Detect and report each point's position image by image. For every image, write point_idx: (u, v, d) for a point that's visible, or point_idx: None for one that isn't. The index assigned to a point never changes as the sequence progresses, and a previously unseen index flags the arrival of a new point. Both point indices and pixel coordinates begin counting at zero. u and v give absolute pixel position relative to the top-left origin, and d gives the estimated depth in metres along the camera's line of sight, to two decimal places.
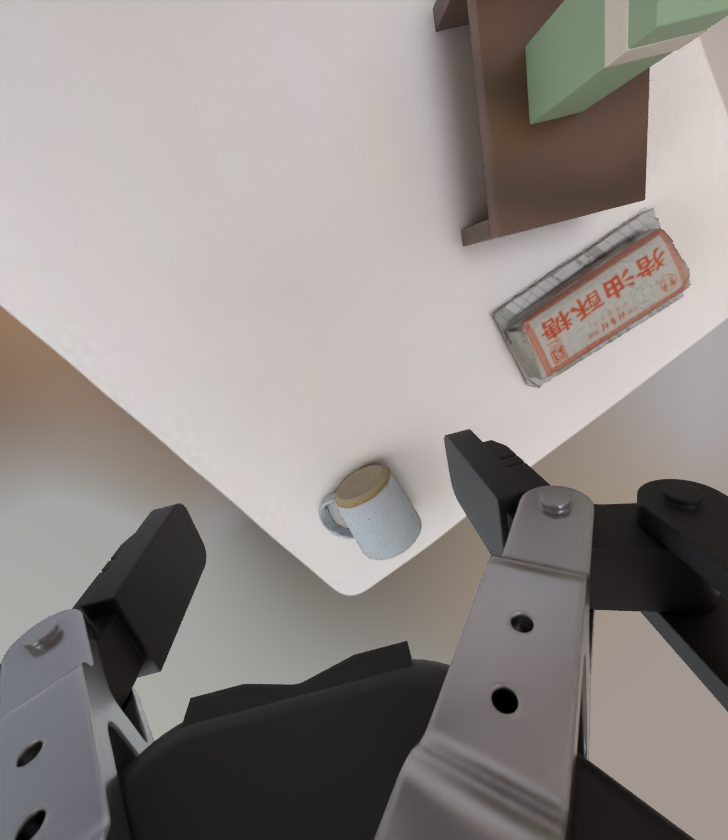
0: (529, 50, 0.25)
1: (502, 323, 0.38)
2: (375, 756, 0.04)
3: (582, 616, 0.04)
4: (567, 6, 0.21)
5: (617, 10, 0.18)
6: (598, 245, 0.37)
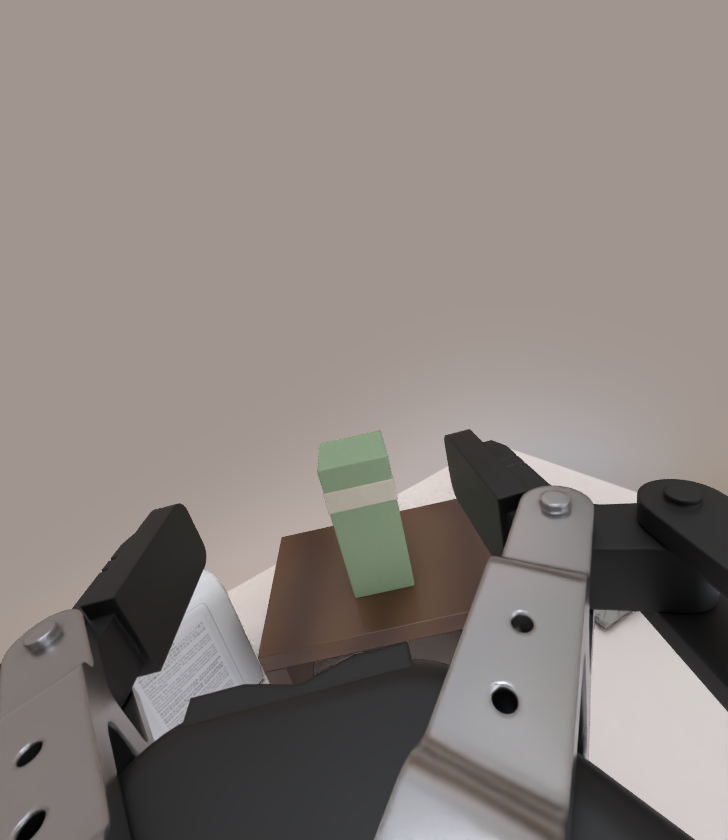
0: (360, 591, 0.27)
1: (613, 612, 0.29)
2: (375, 756, 0.04)
3: (582, 616, 0.04)
4: (346, 547, 0.25)
5: (366, 494, 0.24)
6: None
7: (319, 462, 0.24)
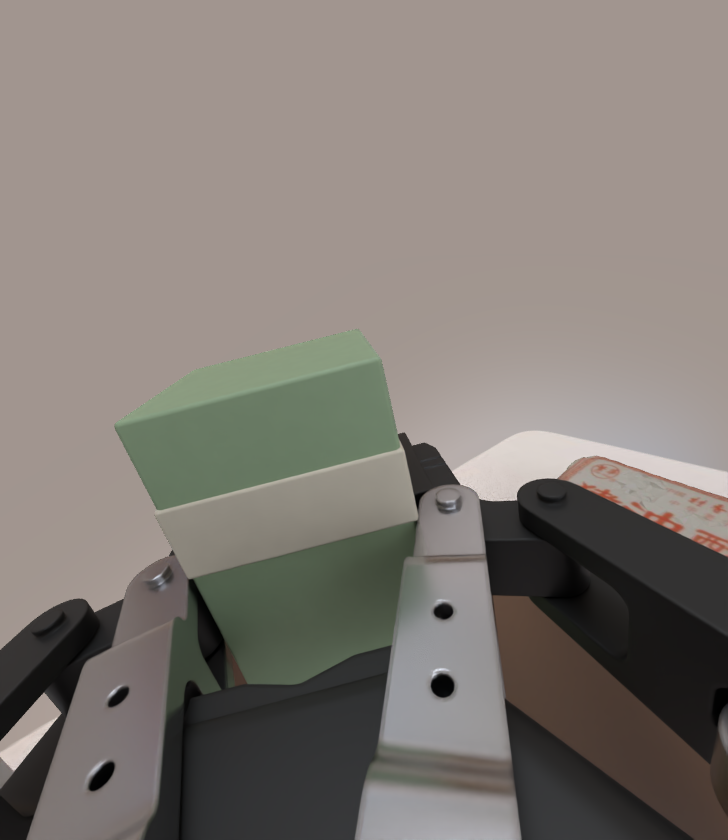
0: None
1: None
2: None
3: (489, 590, 0.05)
4: (263, 675, 0.08)
5: (312, 505, 0.07)
6: None
7: (145, 403, 0.07)
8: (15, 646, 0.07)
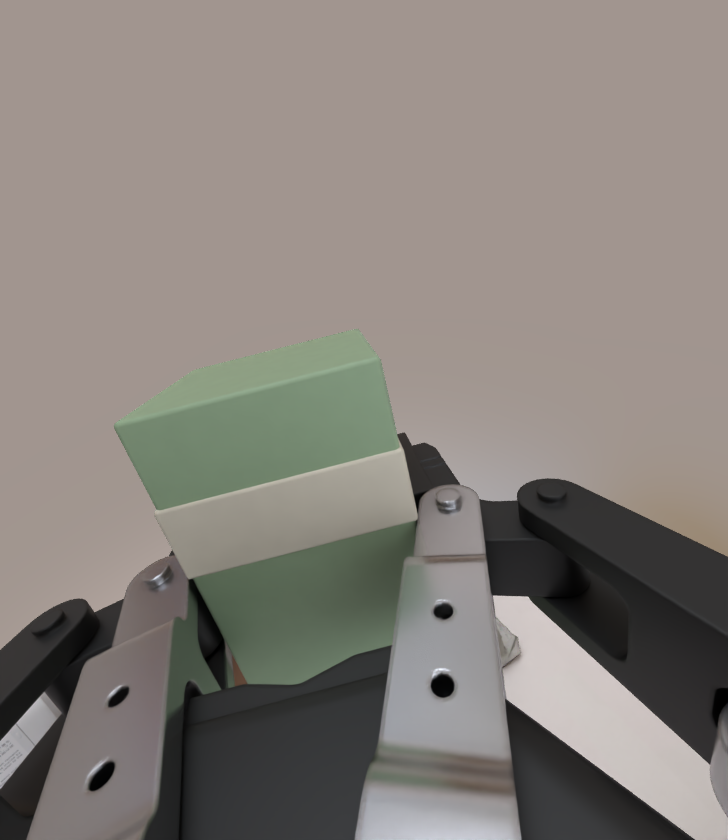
0: None
1: None
2: None
3: (489, 590, 0.05)
4: (263, 674, 0.08)
5: (312, 506, 0.07)
6: None
7: (145, 403, 0.07)
8: (15, 646, 0.07)
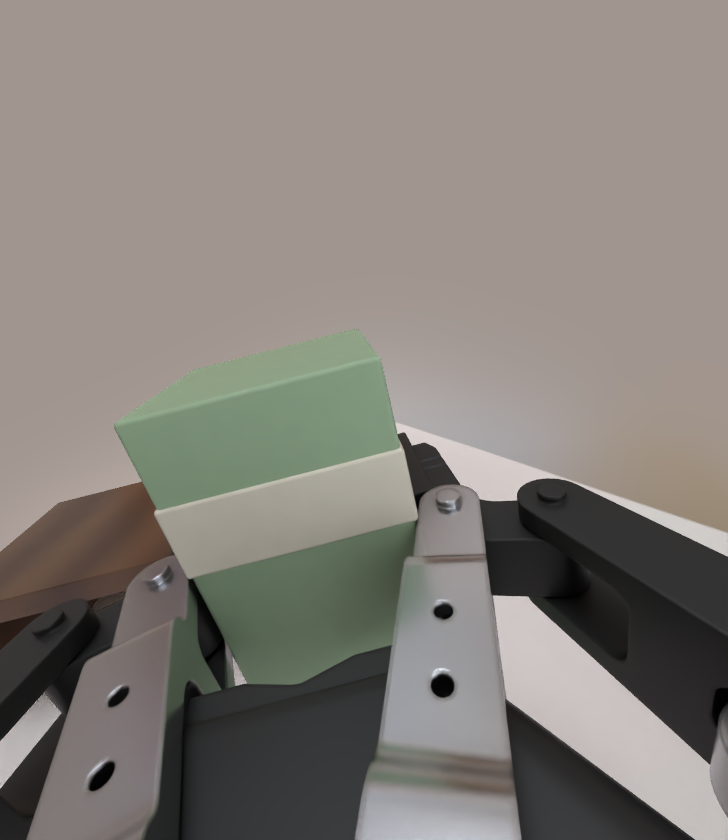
0: None
1: None
2: None
3: (489, 590, 0.05)
4: (263, 674, 0.08)
5: (312, 505, 0.07)
6: None
7: (144, 403, 0.07)
8: (15, 646, 0.07)
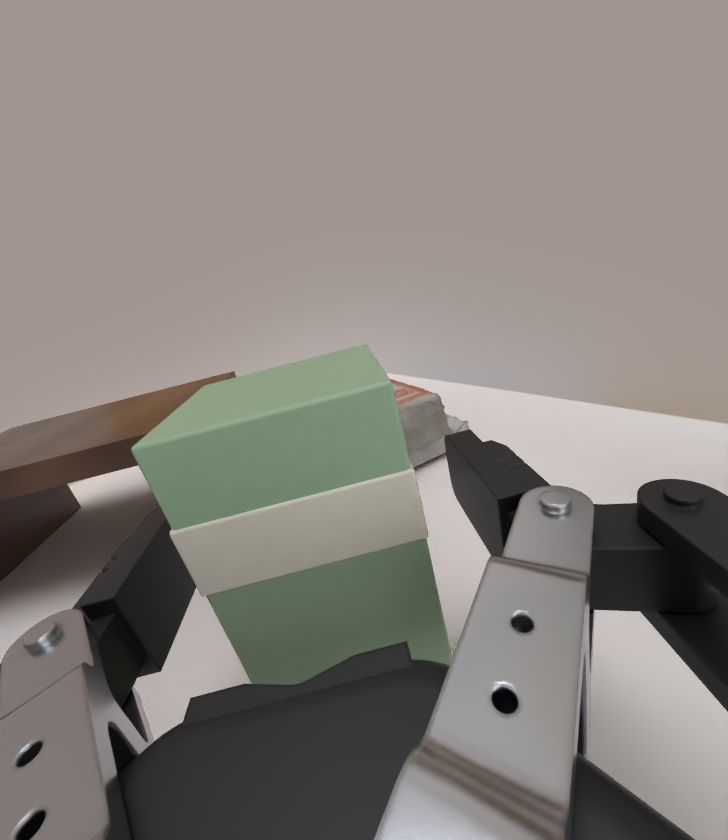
0: None
1: None
2: (375, 756, 0.04)
3: (582, 616, 0.04)
4: None
5: (324, 525, 0.07)
6: None
7: (159, 424, 0.07)
8: None
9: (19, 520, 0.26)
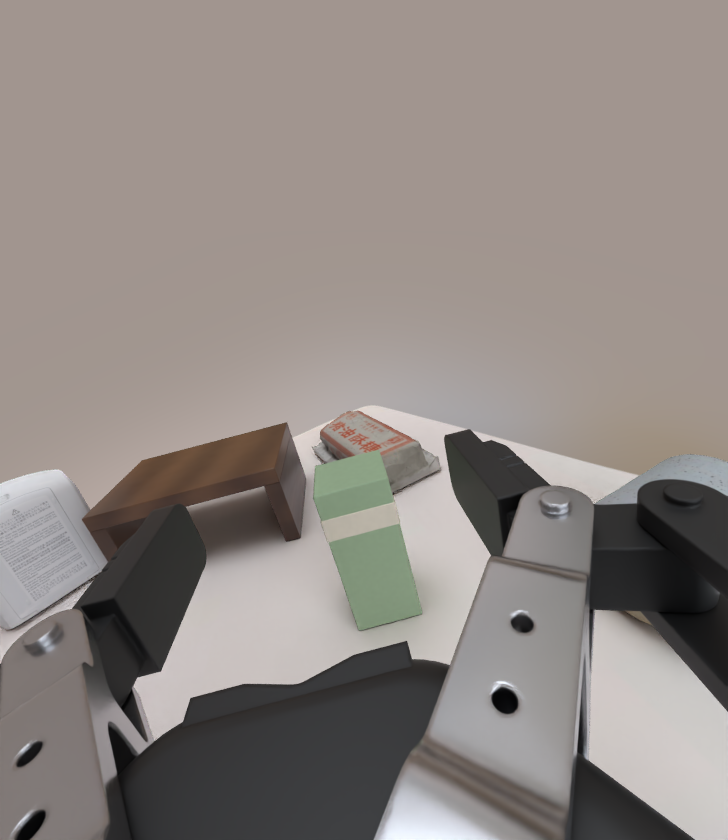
0: (364, 623, 0.25)
1: None
2: (375, 756, 0.04)
3: (582, 616, 0.04)
4: (347, 577, 0.24)
5: (367, 519, 0.22)
6: (326, 460, 0.48)
7: (315, 487, 0.22)
8: None
9: None
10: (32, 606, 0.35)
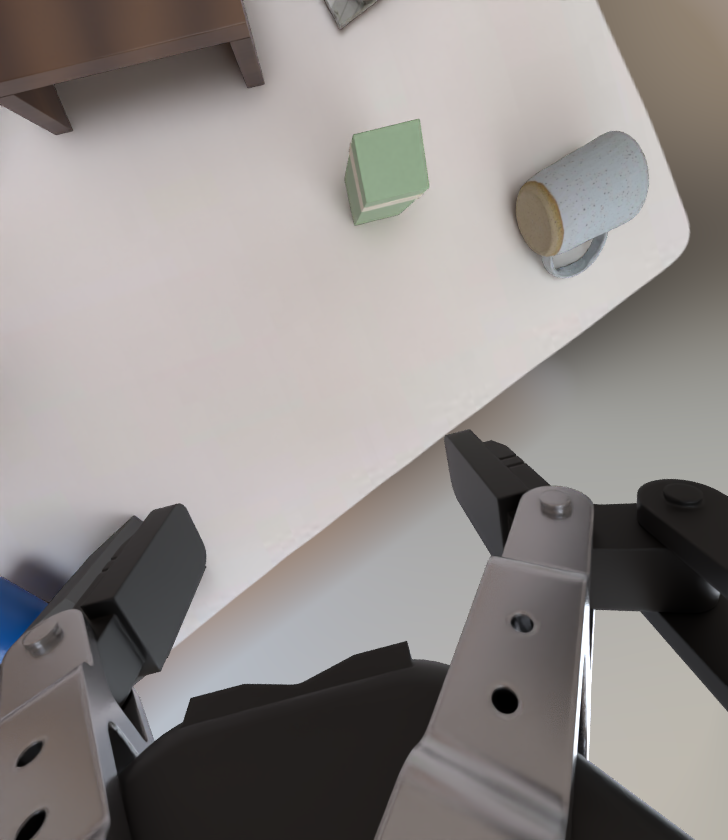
0: (359, 223, 0.35)
1: (351, 10, 0.29)
2: (375, 756, 0.04)
3: (582, 616, 0.04)
4: (363, 216, 0.31)
5: (397, 201, 0.28)
6: None
7: (364, 186, 0.25)
8: None
9: None
10: None
